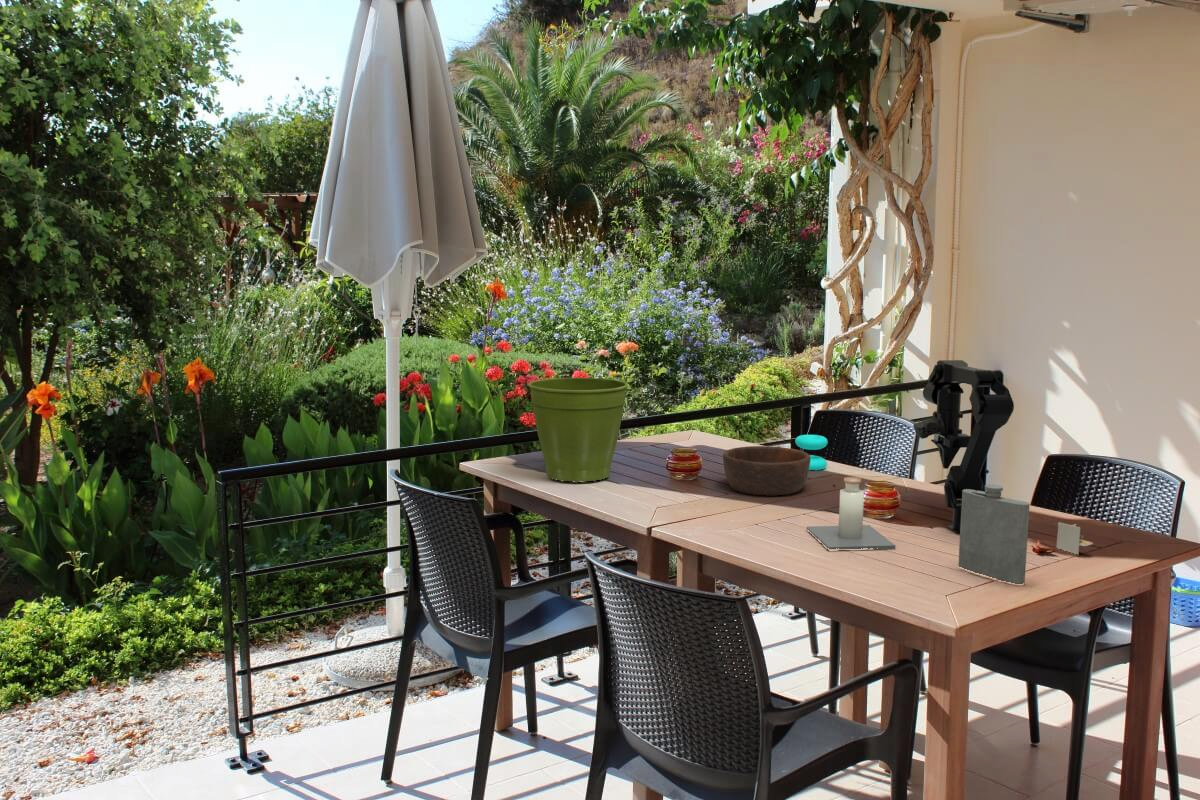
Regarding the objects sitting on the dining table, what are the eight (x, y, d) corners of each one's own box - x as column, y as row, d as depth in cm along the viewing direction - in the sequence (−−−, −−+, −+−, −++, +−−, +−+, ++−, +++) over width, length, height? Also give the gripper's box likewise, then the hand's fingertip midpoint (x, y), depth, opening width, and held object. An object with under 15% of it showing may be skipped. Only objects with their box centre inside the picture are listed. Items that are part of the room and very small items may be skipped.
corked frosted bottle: (865, 538, 258) (867, 481, 256) (842, 539, 257) (844, 481, 255) (857, 532, 263) (859, 476, 261) (835, 532, 263) (837, 476, 260)
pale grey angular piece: (1064, 550, 253) (1066, 520, 252) (1091, 558, 247) (1093, 526, 246) (1055, 553, 251) (1057, 522, 250) (1082, 560, 246) (1084, 528, 244)
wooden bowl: (713, 495, 305) (714, 459, 304) (732, 476, 329) (732, 443, 327) (802, 502, 297) (803, 465, 296) (815, 482, 321) (816, 448, 319)
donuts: (834, 436, 339) (814, 441, 332) (833, 468, 340) (814, 472, 333) (808, 432, 346) (788, 436, 339) (807, 463, 347) (788, 467, 341)
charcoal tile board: (895, 549, 252) (895, 545, 252) (828, 551, 251) (828, 547, 251) (869, 528, 270) (869, 524, 270) (806, 530, 268) (806, 526, 268)
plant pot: (601, 492, 308) (601, 392, 303) (511, 482, 321) (510, 386, 316) (643, 472, 334) (643, 380, 330) (558, 463, 347) (557, 374, 343)
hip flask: (1027, 584, 228) (1033, 491, 224) (1015, 587, 225) (1021, 494, 222) (964, 565, 241) (969, 477, 237) (952, 568, 238) (957, 479, 235)
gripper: (904, 403, 285) (901, 461, 288) (932, 415, 267) (929, 477, 269) (945, 403, 286) (942, 460, 289) (976, 414, 268) (972, 476, 270)
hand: (945, 468), depth 279 cm, fingers closed
